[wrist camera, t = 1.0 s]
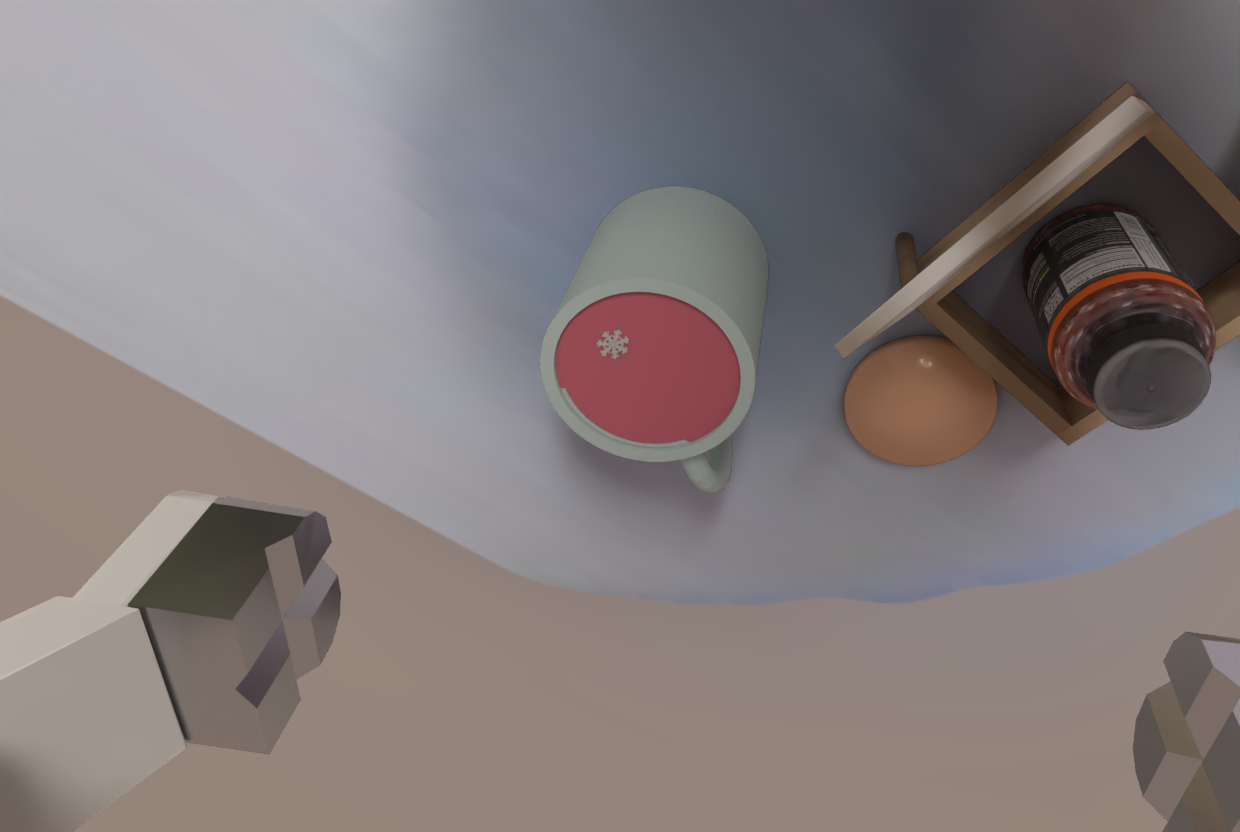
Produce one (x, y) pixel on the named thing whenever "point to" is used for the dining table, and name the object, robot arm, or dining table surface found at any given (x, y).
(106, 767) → the robot arm
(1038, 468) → the dining table surface
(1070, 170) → the cold frame
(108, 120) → the dining table surface
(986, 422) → the saucer
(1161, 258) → the supplement bottle
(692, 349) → the mug
